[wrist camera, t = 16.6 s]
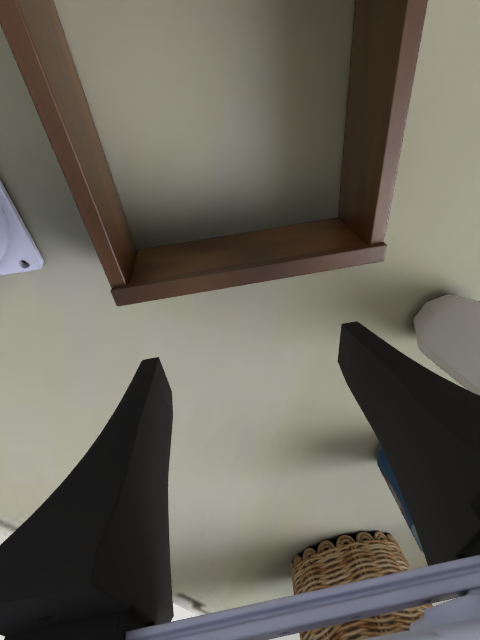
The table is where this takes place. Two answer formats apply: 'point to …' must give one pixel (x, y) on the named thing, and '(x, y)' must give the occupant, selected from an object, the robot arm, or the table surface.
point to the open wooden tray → (246, 248)
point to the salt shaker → (452, 337)
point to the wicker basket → (352, 567)
